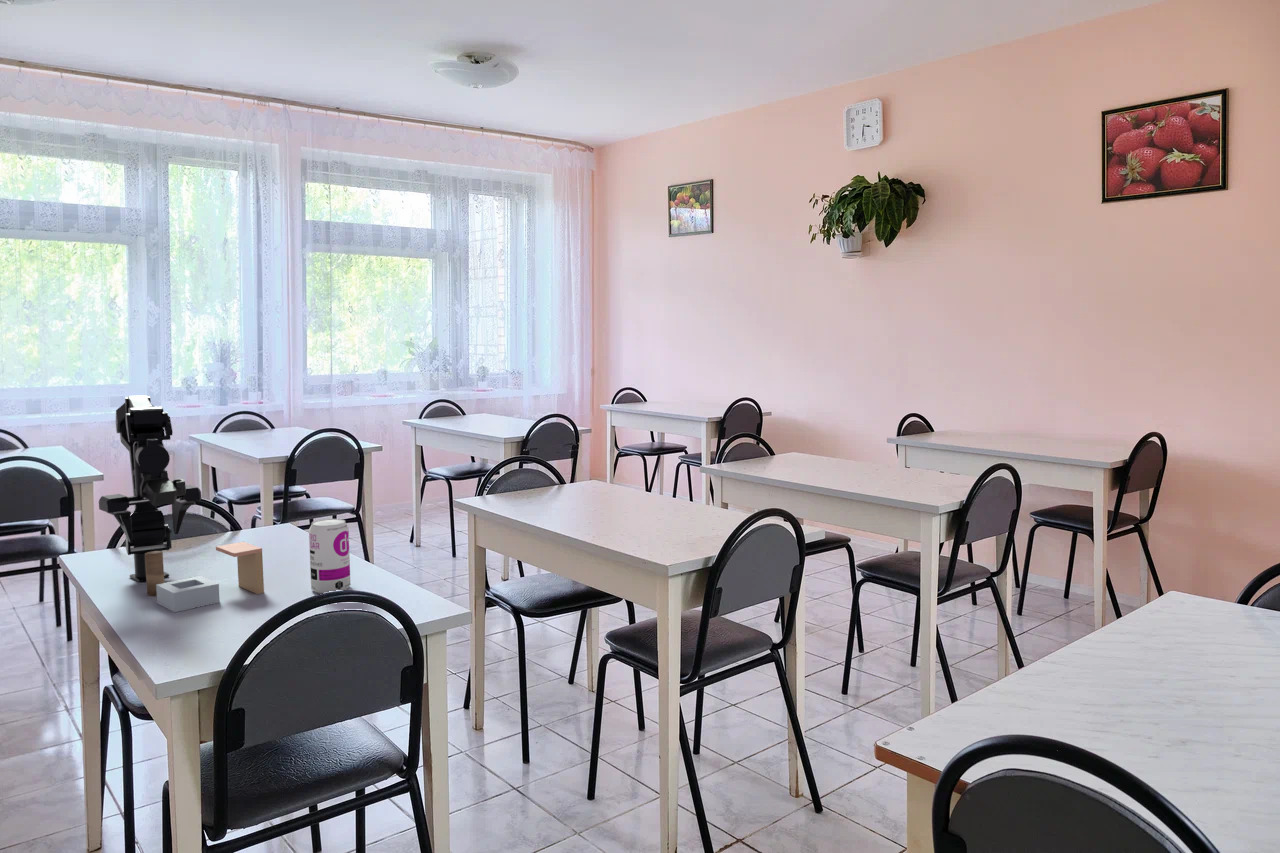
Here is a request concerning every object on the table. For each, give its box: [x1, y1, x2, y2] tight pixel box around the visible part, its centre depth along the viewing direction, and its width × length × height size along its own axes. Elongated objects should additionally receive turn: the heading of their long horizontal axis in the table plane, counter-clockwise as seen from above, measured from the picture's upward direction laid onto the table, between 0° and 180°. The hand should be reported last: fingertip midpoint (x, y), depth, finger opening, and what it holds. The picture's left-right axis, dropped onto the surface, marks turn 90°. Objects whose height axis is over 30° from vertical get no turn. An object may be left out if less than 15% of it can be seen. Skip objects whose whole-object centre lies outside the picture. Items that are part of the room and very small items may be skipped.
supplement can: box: [308, 518, 351, 594], centre depth 198 cm, size 8×8×15 cm
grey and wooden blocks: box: [156, 541, 265, 613], centre depth 192 cm, size 9×18×10 cm, turn 138°
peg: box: [145, 551, 165, 597], centre depth 195 cm, size 3×3×9 cm
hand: (153, 537), depth 194 cm, fingers open, 9 cm apart
